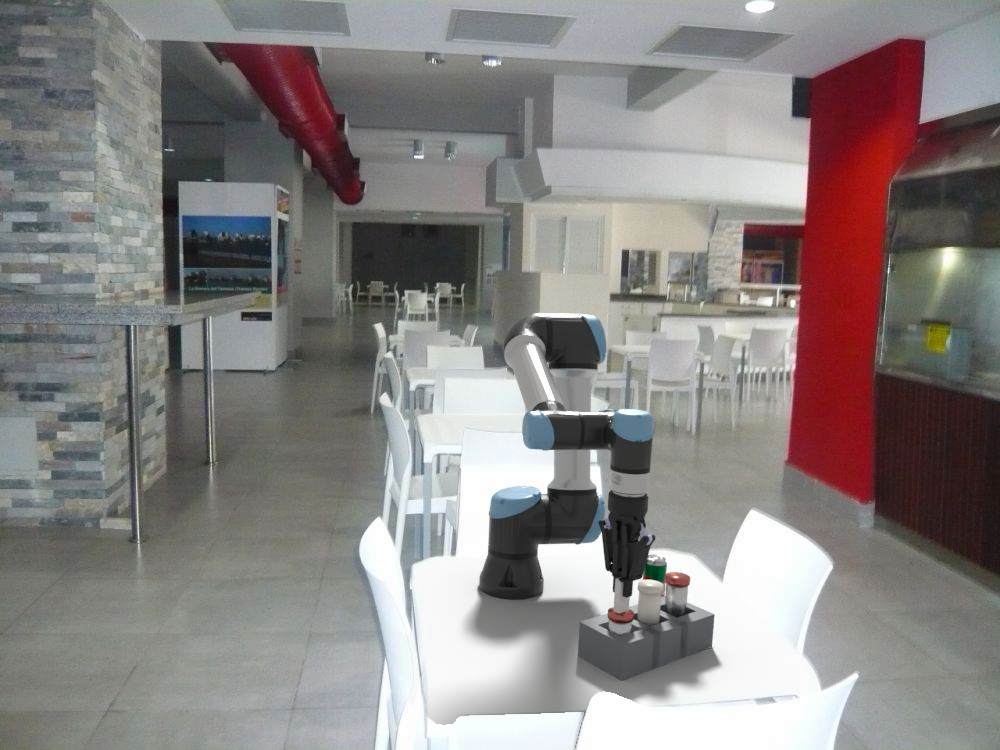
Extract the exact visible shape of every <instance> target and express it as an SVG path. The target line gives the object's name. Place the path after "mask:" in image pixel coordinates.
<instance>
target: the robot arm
mask: <svg viewBox="0 0 1000 750" xmlns="http://www.w3.org/2000/svg"><path fill="white" fill-rule="evenodd" d="M606 354H607V338H606V333H605V328H604V326H603V324H602V322H601V320H600V319H599V318H598V317H597V316H595V315H592V314H584V313H555V312H554V313H553V312H551V313H550V312H549V313H548V312H546V313H545V312H533V313H532V312H531V313H529V314H526V315H523V316H522V317H519V319H517V320H515V321H514V322H513V323H511V325H510V327H509V328H508V330H507V331H506V333H505V335H504V337H503V340H502V355H503V358H504V360H505V361H504V362H505V363H506V364H507V366H508V367H509V368H511V369H512V371H513V374H514V377H515V378H516V382H517V385H518V388H519V391H520V394H521V397H522V400H523V403H524V406H525V410H526V413H525V414H524V416H523V417H522V427H521V429H522V432H521V433H522V440H523V441H522V442H523V443H524V444H523V445H524V446H525V447H526V448H527V449H530V450H541V451H543V452H544V451H553V479H552V480H551V481H550V482H549V483H548V484H547V489H546V491H547V492H546V493H542V492H541V490H540V489H539V488H537V487H534V486H526V485H519V486H518V485H516V486H515V485H514V486H511V487H506V488H503V489H499V490H498V491H495V493H494V494H493V495H492V496H491V498H490V502H489V503H490V504H489V511H488V516H489V521H488V522H489V523H488V545H487V556H486V558H485V561H484V565H483V568H482V571H481V572H480V574H479V580H478V581H479V582H478V583H479V584H478V586H479V589H480V590H481V591H482V592H484V593H486V594H488V595H490V596H493V597H495V598H496V597H498V598H502V599H510V600H512V599H514V600H516V599H517V600H518V599H519V600H521V599H527V598H533V597H536V596H539V595H540V594H541V593H542V592H543V590H544V585H545V584H544V583H545V582H544V580H545V579H544V576H543V572H542V568H541V564H540V561H539V557H538V555H539V554H538V551H539V550H538V549H539V545H561V544H562V545H566V544H568V545H571V544H574V545H576V546H577V545H581V544H590V543H594V542H596V541H597V540H599V537H600V535H601V538H602V539H601V540H602V546H603V547H602V548H603V556H604V566H605V571H607V572H610V573H611V576H612V577H613V579H612V581H613V582H612V592H613V593H614V596H613V607H614V610H613V611H614V612H616V613H619V614H620V613H623V612H626V611H629V607H630V600H631V597H632V596H633V585H634V582H635V581H639V580H642V579H643V572H644V569H645V565H646V561H647V558H648V555H650V554H649V553H650V550H651V547H652V546H653V543H654V542H655V541H656V536H655V535H654V534H650V533H649V531H648V530H647V529H646V528H647V524H646V521H645V520H646V519H645V517H646V515H647V513H648V511H649V497H650V496H649V495H648V493H649V492H650V480H651V463H652V462H651V461H652V452H653V451H652V450H653V449H652V448H653V436H654V431H655V430H654V417H653V414H652V413H651V412H649V411H646V410H642V409H634V408H622V409H613V408H604V409H601V410H599V411H592V410H591V409H592V404H591V403H592V395H591V394H592V378H593V376H595V374H597V373H598V371H599V369H598V365H601V364H602V363H604V362H605V359H606V356H607V355H606ZM553 377H554V378H553ZM603 450H604V451H610V465H609V466H610V468H609V484H608V485H609V487H608V488H609V489H610V490H609V492H608V495H607V496H608V497H607V499H608V500H607V510H608V511H609V513H608V516H607V518H606V517H605V516H606V506H605V499H604V497H603V495H602V494H601V493H599V492H597V484H595V483H594V482H593V481H592V480H591V451H603Z"/></svg>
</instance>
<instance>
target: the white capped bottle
mask: <svg viewBox="0 0 1000 750" xmlns="http://www.w3.org/2000/svg"><path fill="white" fill-rule="evenodd" d="M663 587H664V585H663V584H662V583H661V582H659V581H655V580H643V579H640V580H638V582H637V591H638V600H637V604H638V613H637V621H638V622H640V623H643V624H645V625H647V626H649V627H650V626H653V625H656V624H659V621H660V607H661V594H662V593H663Z"/></svg>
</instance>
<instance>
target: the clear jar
mask: <svg viewBox="0 0 1000 750" xmlns="http://www.w3.org/2000/svg"><path fill="white" fill-rule="evenodd" d="M665 582H666V585H665V607H664V612H665V613H668V614H670V615H672V616H674V617H676V618H677V617H681V616H684V615H686V609H687V603H688V593H689V586H690V585H691V584H690V583H691V577H690V575H688V574H686V573H683V572H679V571H678V572H677V571H671V572H666V575H665Z"/></svg>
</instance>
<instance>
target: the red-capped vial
mask: <svg viewBox="0 0 1000 750" xmlns="http://www.w3.org/2000/svg"><path fill="white" fill-rule="evenodd" d="M613 610H614V606H612V607H609V608H608V610H607V613H608V619H609V626H608V630H609V631H611V632H613V633H615V634H617V635H619V636H623V635H626V634H629V633H631V627H632V621H633V620H634V612H633V611H632V610H631V609H629V611H626V612H623V613H620V614H619V613H616V612H614V611H613Z"/></svg>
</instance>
